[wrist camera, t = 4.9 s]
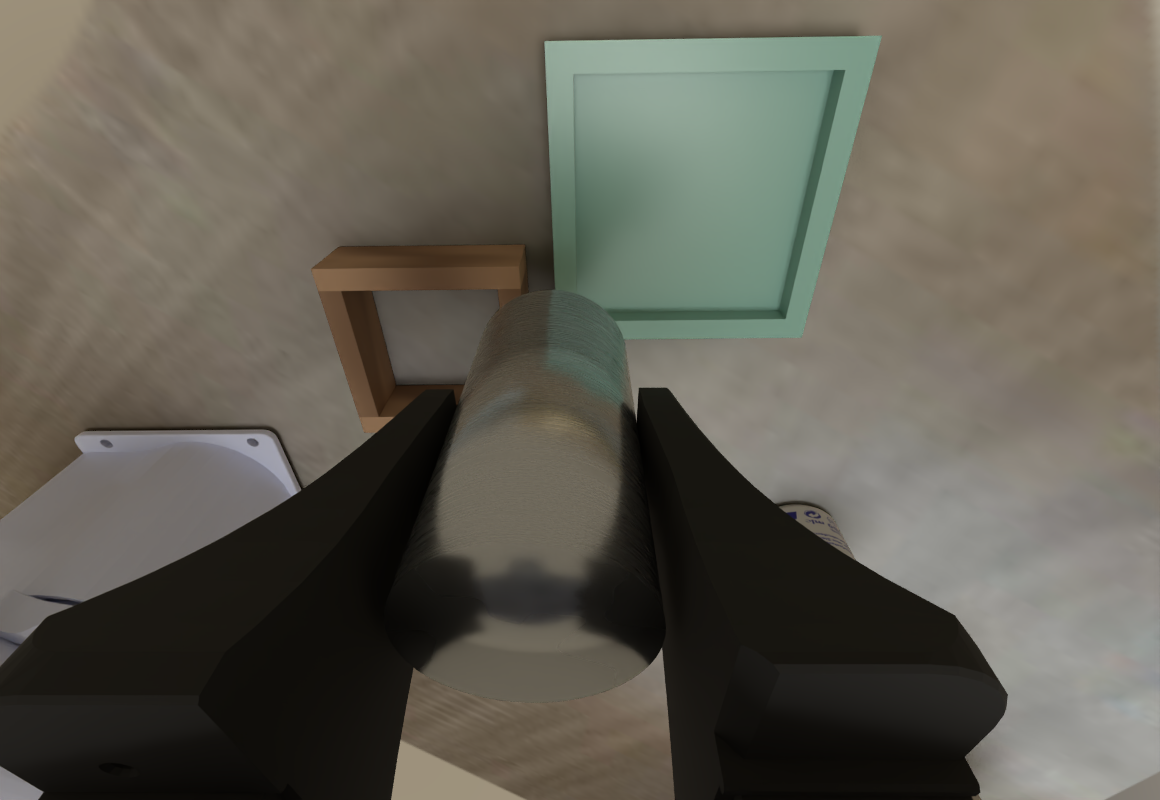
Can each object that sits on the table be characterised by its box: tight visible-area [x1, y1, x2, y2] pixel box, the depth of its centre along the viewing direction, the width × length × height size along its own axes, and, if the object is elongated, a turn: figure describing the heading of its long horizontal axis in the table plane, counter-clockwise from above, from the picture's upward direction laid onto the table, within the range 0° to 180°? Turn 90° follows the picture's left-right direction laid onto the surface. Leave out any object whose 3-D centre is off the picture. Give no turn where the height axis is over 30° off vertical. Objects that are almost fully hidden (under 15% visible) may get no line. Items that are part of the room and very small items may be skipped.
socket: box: [311, 245, 529, 433], centre depth 20 cm, size 7×7×2 cm
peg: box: [384, 290, 666, 703], centre depth 11 cm, size 4×4×8 cm
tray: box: [544, 36, 882, 339], centre depth 18 cm, size 10×10×1 cm
